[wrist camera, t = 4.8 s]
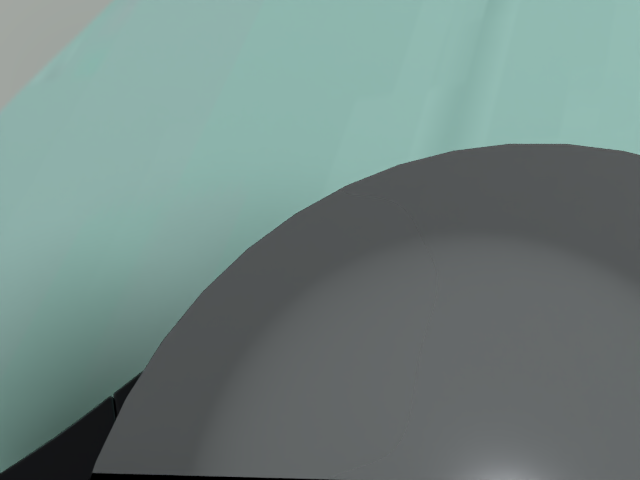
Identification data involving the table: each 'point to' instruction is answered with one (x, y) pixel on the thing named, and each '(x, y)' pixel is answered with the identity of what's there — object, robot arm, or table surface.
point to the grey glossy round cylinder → (413, 334)
